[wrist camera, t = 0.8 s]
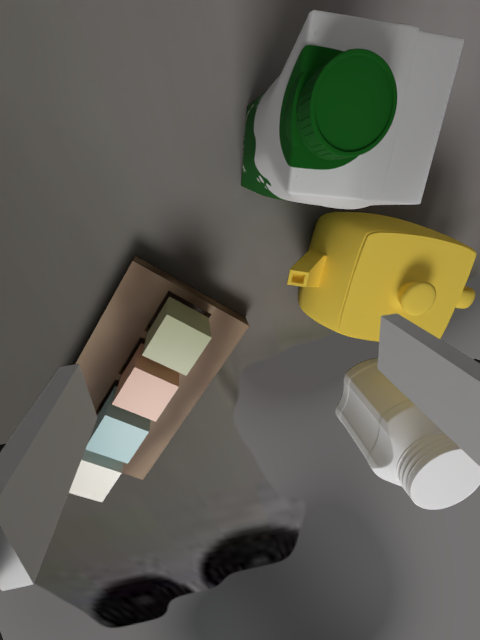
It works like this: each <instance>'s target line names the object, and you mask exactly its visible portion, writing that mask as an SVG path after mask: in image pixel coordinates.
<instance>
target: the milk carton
mask: <svg viewBox="0 0 480 640" xmlns="http://www.w3.org/2000/svg"><path fill="white" fill-rule="evenodd" d="M463 44H464V39H460V38H456V37H450V36H445V35H440V34H434V33H429V32H424V31H419V27H417V26H414V25H409V24H403V23H389V22H384V21H378V20H372V19H367V18H361V17H355V16H349V15H343V14H337V13H331V12H326V11H320V10H313V11H311V12H310V13H309V15H308V17H307V19H306V21H305V23H304V25H303V27H302V30H301V32H300V34H299V36H298V38H297V40H296V42H295V45H294V47H293V49H292V51H291V53H290V55H289V57H288V59H287V62H286V64H285V66H284V68H283V70H282V72H281V74H280V75H279V77H278V78H277V79H276V80H275V81H274V82H273V83H272V85H271V86H270V87H269V88H268V89H267V90H266V91H265V92H264V93H263V94H262V95H261V96H260V97H258V98H257V99H256V100H255V101H253V102H252V103H251V104H250V105H248V106H247V113H246V121H245V132H244V143H243V161H242V180H241V186H243V187H245V188H247V189H250V190H252V191H254V192H256V193H258V194H261V195H263V196H267V197H271V198H275V199H280V200H286V201H292V202H298V203H305V204H311V205H320V206H324V207H330V208H338V209H359V208H364V207H368V206H371V205H414V204H420V203H421V200H422V196H423V193H424V189H425V185H426V181H427V178H428V174H429V170H430V166H431V163H432V159H433V155H434V152H435V148H436V144H437V140H438V137H439V133H440V129H441V126H442V122H443V118H444V114H445V111H446V107H447V103H448V100H449V96H450V92H451V88H452V85H453V81H454V77H455V73H456V70H457V66H458V62H459V59H460V55H461V51H462V47H463Z"/></svg>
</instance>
